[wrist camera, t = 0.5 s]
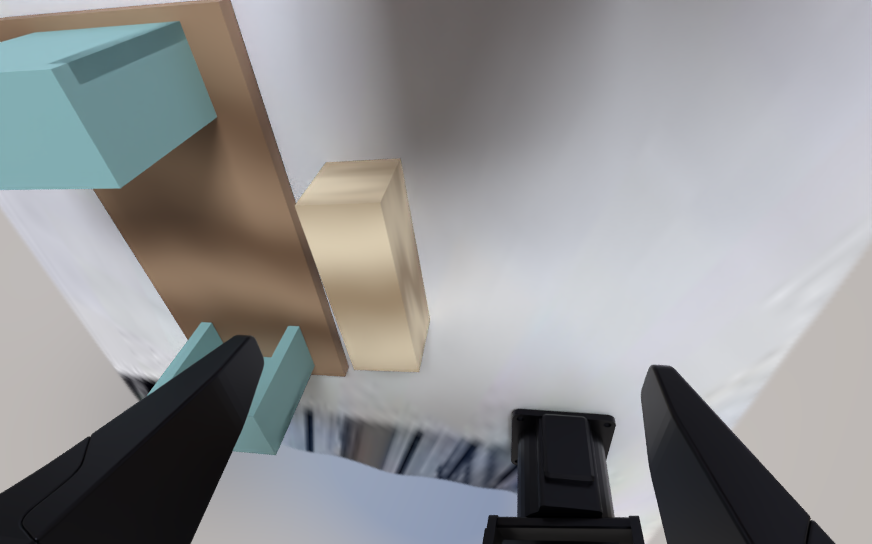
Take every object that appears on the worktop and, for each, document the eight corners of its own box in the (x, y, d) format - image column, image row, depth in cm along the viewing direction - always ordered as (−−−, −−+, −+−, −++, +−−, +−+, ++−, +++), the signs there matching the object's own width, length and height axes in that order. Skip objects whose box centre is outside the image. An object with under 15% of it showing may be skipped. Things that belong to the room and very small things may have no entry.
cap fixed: (217, 116, 19) (120, 188, 15) (86, 122, 20) (-44, 190, 16) (179, 20, 17) (51, 69, 12) (34, 32, 18) (-136, 81, 13)
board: (348, 366, 30) (345, 376, 30) (211, 359, 32) (205, 368, 31) (229, -3, 17) (218, 1, 16) (5, 17, 19) (-13, 21, 18)
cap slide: (314, 365, 29) (273, 460, 24) (223, 360, 30) (166, 450, 25) (299, 326, 27) (250, 421, 22) (201, 322, 28) (134, 412, 23)
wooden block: (430, 317, 26) (419, 372, 23) (372, 316, 27) (354, 369, 24) (401, 156, 20) (380, 202, 17) (327, 160, 21) (294, 205, 18)
